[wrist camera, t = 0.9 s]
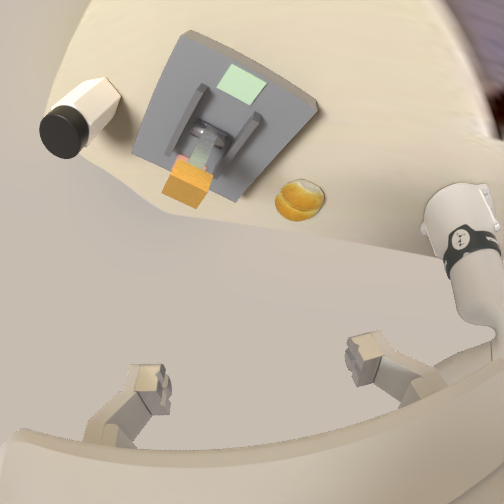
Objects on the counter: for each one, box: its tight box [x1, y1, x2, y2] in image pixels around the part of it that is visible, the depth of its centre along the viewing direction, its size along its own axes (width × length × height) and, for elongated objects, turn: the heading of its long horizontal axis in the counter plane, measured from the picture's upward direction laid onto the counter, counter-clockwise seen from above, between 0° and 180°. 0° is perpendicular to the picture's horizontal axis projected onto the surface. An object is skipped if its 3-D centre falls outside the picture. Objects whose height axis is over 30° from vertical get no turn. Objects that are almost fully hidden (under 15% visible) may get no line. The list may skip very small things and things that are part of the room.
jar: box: [39, 77, 121, 159], centre depth 33 cm, size 9×8×12 cm
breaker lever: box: [162, 119, 229, 209], centre depth 33 cm, size 5×3×13 cm, turn 59°
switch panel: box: [131, 30, 317, 202], centre depth 37 cm, size 20×22×6 cm
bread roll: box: [275, 179, 324, 221], centre depth 50 cm, size 8×9×4 cm
